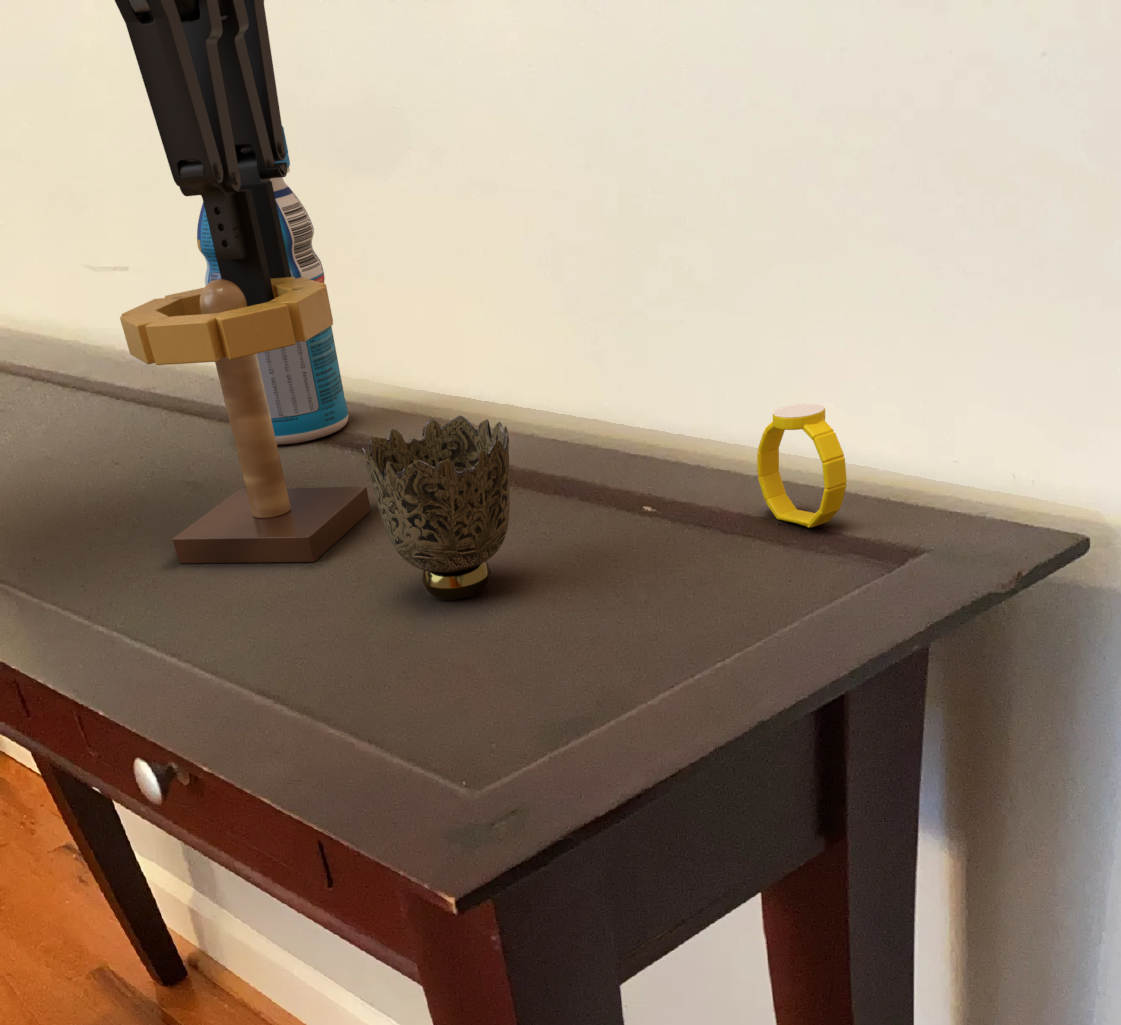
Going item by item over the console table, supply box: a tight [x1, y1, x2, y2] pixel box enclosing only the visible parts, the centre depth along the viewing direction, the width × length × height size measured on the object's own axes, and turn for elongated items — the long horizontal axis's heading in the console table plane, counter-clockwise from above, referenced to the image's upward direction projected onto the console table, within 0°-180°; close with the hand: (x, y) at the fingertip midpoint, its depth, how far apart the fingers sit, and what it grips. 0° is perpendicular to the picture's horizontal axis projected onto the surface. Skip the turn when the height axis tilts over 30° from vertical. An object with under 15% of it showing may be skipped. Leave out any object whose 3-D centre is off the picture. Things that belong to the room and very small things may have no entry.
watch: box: [756, 403, 848, 528], centre depth 74 cm, size 6×3×6 cm, turn 32°
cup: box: [361, 415, 511, 601], centre depth 71 cm, size 8×7×8 cm
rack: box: [172, 279, 372, 564], centre depth 80 cm, size 9×9×14 cm
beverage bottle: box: [196, 125, 350, 446], centre depth 98 cm, size 8×8×20 cm
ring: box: [119, 277, 334, 366], centre depth 77 cm, size 11×11×2 cm
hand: (264, 313), depth 80 cm, fingers closed on ring, 2 cm apart
